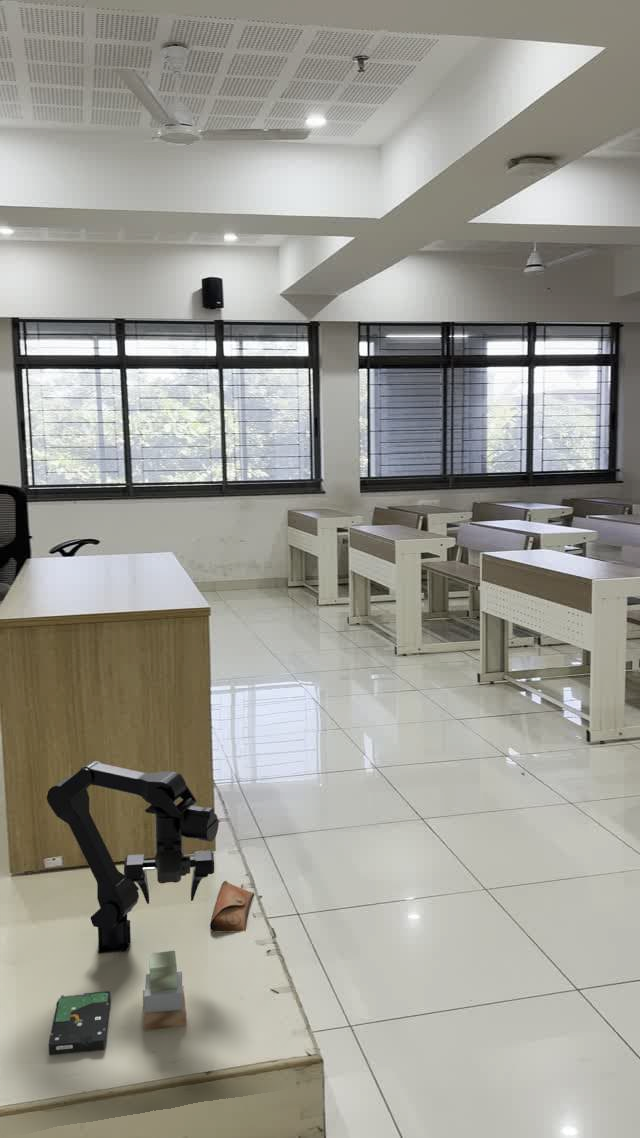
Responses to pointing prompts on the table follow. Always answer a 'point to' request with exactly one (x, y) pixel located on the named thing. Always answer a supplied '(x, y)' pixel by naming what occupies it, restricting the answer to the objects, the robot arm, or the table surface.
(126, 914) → the robot arm
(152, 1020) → the tower base
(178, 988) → the tower top
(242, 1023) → the table surface
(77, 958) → the table surface
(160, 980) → the green cube
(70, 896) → the table surface
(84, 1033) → the disk drive
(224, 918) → the sunglasses case
